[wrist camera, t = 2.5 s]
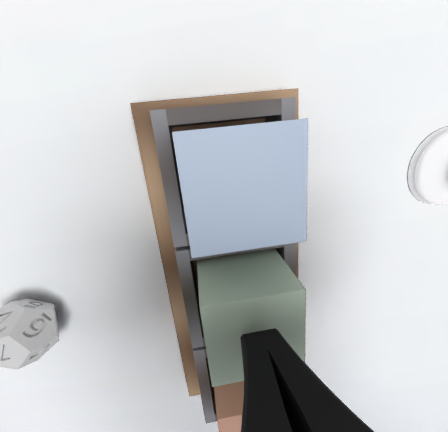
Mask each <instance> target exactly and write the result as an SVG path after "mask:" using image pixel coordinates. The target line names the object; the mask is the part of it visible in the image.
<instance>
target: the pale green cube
mask: <svg viewBox="0 0 448 432" xmlns="http://www.w3.org/2000/svg"><path fill="white" fill-rule="evenodd" d="M197 272H198V289H199V307H200V314H201V320H202V326H203V333H204V339H205V345H206V352H207V358H208V364H209V371H210V377H211V384H212V387H216V386H221V385H226V384H231V383H236V382H241V381H244V371H243V360H242V349H241V339H240V337H241V336H242V335H243V334H246V333H252V332H257V331H263V330H268V329H274V328H276V329H277V330H278V331H279V332H280V333H281V335H282V336H283V337H284V339H285V340H286V341H287V342H288V344H289V345H290V346H291V347H292V348H293V350H294V351H295V352H296V353H297V354H298V355H299V357H300V358H301V359H302V360H303V361H304V362H305V316H306V289H305V288H304V286H303V285H302V284H301V282H300V281H299V280H298V278H297V277H296V276H295V274H294V273H293V272H292V270H291V269H290V268H289V267H288V265H287V264H286V263H285V261H284V260H283V259H282V257H281V256H280V255H279V253H278V252H277V251H276V249H271V250H264V251H258V252H251V253H244V254H238V255H231V256H225V257H218V258H211V259H205V260H198V261H197Z"/></svg>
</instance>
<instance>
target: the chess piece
mask: <svg viewBox="0 0 448 432" xmlns="http://www.w3.org/2000/svg"><path fill="white" fill-rule="evenodd" d="M408 184H409V188H410V190H411V192H412V194H413V195H414V197H415V198H417V199H418V200H419V201H421V202H423V203H427V204H435V205H448V127H444V128H441V129H439V130H437V131H435V132H434V133H432V134H431V135H430V136H428V137H427V138H426V139H425V140H424V141H423V142H422V143H421V144H420V146H419V147H418V148H417V150H416V151H415V153H414V155H413V157H412V159H411V162H410V165H409V169H408Z"/></svg>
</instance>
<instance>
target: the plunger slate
mask: <svg viewBox="0 0 448 432" xmlns="http://www.w3.org/2000/svg"><path fill="white" fill-rule="evenodd" d="M172 135H173V142H174V148H175V155H176V161H177V167H178V174H179V180H180V186H181V193H182V199H183V205H184V212H185V218H186V225H187V231H188V237H189V244H190V250H191V256H192V258H197V257H204V256H210V255H217V254H224V253H230V252H237V251H244V250H250V249H257V248H264V247H270V246H277V245H284V244H290V243H297V242H304V241H306V238H307V160H308V118H306V119H296V120H286V121H276V122H266V123H256V124H246V125H236V126H227V127H217V128H207V129H197V130H187V131H177V132H172Z"/></svg>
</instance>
